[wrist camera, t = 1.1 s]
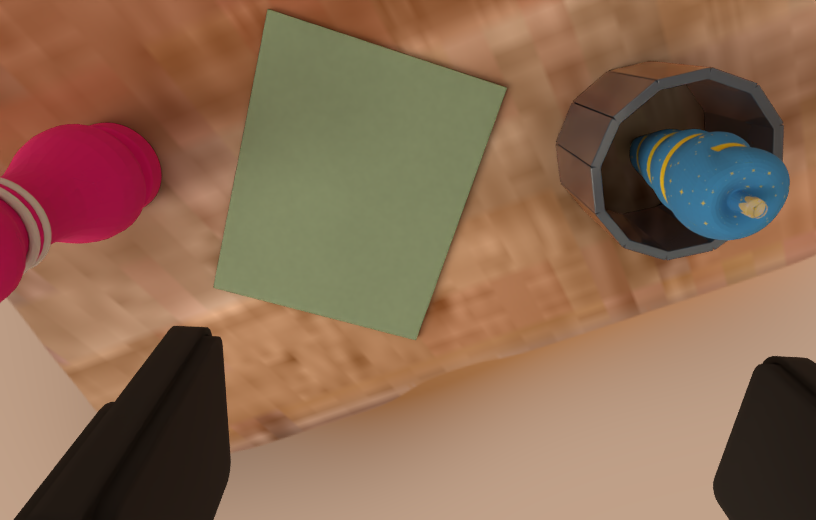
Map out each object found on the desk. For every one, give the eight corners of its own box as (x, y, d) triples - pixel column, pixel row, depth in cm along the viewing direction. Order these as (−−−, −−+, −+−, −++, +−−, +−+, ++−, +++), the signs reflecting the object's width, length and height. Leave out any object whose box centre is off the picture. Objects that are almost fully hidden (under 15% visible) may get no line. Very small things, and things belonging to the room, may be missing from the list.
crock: (596, 41, 36) (644, 43, 29) (742, 92, 37) (821, 105, 30) (533, 195, 40) (562, 230, 33) (668, 236, 41) (723, 277, 34)
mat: (268, 9, 35) (267, 8, 34) (506, 87, 37) (507, 87, 36) (214, 285, 42) (213, 287, 41) (415, 337, 44) (416, 340, 44)
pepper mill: (183, 208, 39) (-4, 362, 21) (87, 225, 40) (-181, 392, 21) (148, 105, 37) (-104, 179, 18) (44, 125, 37) (-305, 217, 19)
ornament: (686, 124, 38) (853, 177, 24) (647, 192, 40) (782, 277, 26) (620, 95, 37) (754, 134, 23) (584, 166, 39) (688, 241, 25)
